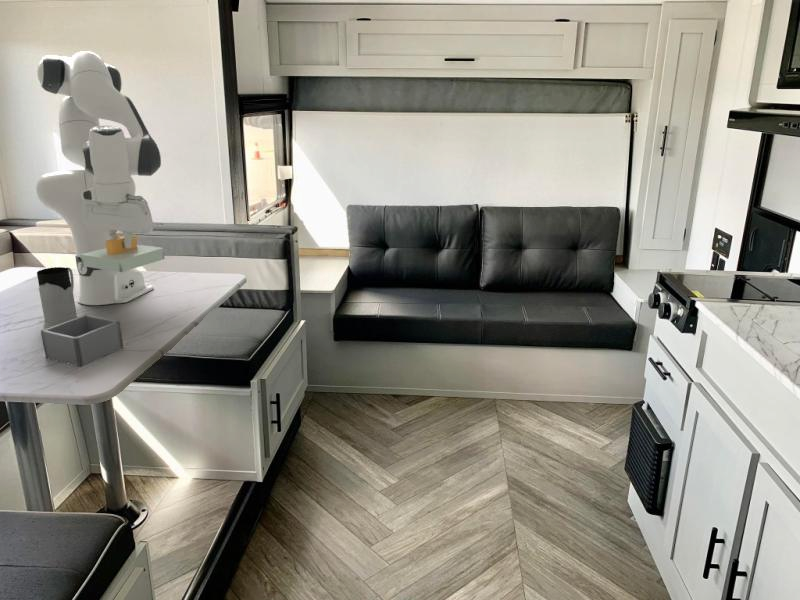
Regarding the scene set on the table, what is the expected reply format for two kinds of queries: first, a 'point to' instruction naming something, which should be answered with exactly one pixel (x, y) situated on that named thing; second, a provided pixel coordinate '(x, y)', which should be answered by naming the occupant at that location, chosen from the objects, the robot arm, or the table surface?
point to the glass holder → (56, 295)
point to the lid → (122, 256)
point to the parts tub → (82, 339)
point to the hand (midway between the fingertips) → (122, 247)
